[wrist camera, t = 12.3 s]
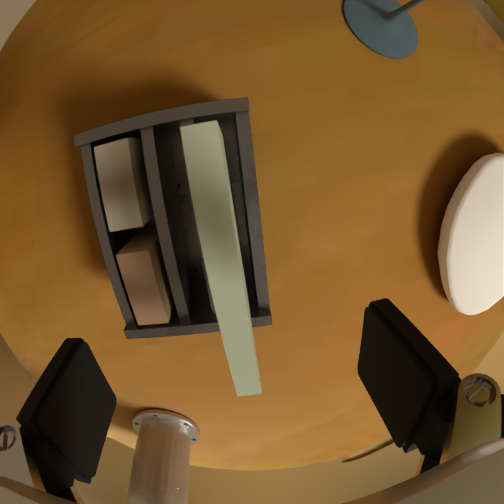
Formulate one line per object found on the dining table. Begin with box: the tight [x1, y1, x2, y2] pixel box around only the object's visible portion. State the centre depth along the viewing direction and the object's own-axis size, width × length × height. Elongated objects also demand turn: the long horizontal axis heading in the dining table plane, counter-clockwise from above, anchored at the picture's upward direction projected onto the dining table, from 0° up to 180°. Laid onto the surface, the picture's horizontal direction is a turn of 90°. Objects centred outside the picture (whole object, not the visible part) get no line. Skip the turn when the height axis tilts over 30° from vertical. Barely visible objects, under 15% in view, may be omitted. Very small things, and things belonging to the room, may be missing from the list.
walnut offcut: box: [116, 226, 175, 325], centre depth 26 cm, size 7×3×8 cm, turn 6°
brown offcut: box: [94, 138, 154, 232], centre depth 23 cm, size 7×3×8 cm, turn 6°
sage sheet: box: [180, 120, 262, 397], centre depth 21 cm, size 14×1×18 cm, turn 8°
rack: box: [74, 97, 272, 339], centre depth 25 cm, size 19×14×9 cm
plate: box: [437, 153, 504, 315], centre depth 32 cm, size 28×6×27 cm
